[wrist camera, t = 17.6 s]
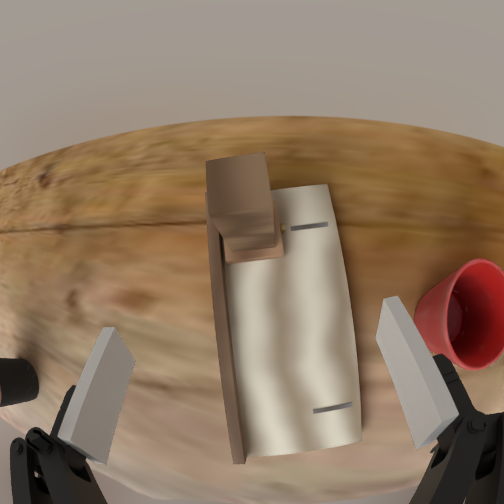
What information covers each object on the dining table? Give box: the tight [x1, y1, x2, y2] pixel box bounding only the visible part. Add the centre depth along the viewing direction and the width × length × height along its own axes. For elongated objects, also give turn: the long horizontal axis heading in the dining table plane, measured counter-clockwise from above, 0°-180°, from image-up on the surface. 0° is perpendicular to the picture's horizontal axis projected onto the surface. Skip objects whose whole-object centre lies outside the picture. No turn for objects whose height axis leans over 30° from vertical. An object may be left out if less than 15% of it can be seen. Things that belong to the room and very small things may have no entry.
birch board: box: [205, 184, 362, 464], centre depth 28 cm, size 14×30×4 cm, turn 6°
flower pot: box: [414, 258, 504, 370], centre depth 24 cm, size 11×11×10 cm
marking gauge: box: [206, 152, 286, 264], centre depth 25 cm, size 7×6×12 cm
